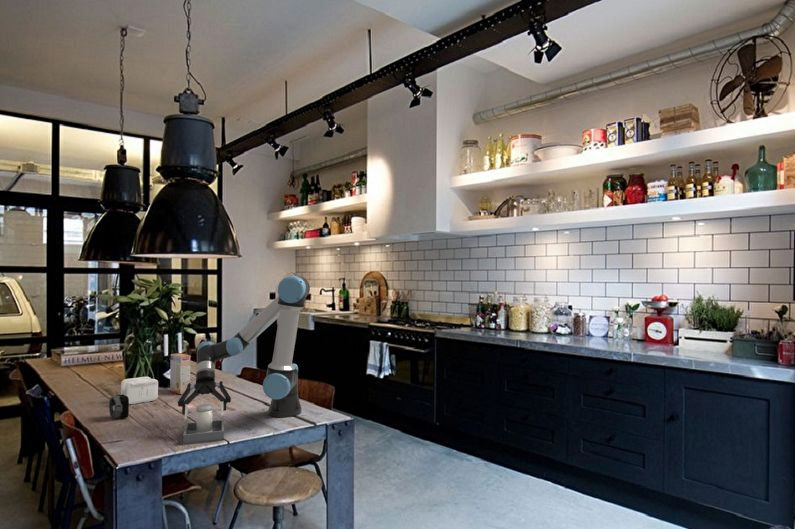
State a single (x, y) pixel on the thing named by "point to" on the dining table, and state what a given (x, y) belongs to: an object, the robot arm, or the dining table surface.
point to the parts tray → (193, 437)
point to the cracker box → (179, 372)
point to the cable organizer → (140, 389)
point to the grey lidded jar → (204, 418)
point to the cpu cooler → (119, 406)
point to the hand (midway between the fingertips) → (204, 419)
